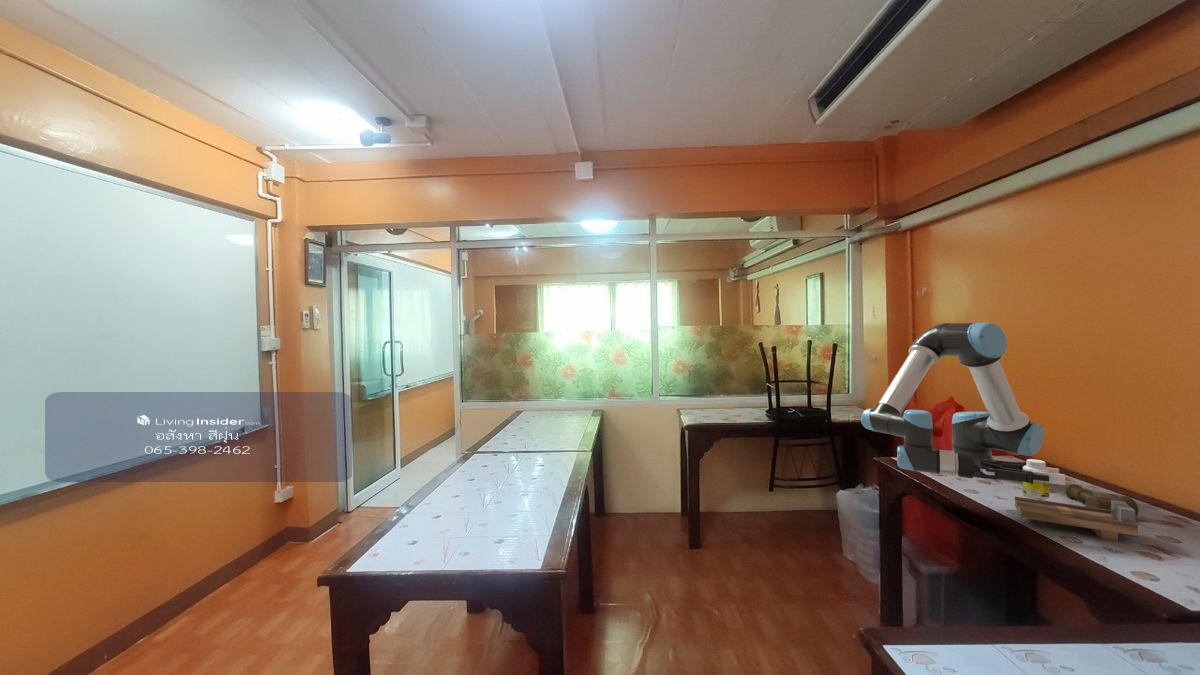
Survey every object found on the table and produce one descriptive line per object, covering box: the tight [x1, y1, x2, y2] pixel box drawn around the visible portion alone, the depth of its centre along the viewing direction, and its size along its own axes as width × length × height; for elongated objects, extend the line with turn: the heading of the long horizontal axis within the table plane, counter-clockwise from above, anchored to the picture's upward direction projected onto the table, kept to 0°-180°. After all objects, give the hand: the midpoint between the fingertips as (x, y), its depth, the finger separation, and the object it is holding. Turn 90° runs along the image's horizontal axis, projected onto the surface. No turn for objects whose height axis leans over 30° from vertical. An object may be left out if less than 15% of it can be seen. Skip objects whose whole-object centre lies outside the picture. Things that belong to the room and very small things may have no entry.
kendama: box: [1064, 483, 1139, 518], centre depth 137 cm, size 6×10×20 cm
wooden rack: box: [1014, 496, 1139, 543], centre depth 125 cm, size 10×22×8 cm, turn 56°
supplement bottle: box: [1022, 458, 1050, 500], centre depth 129 cm, size 6×6×10 cm
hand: (1061, 476), depth 126 cm, fingers closed on supplement bottle, 6 cm apart
